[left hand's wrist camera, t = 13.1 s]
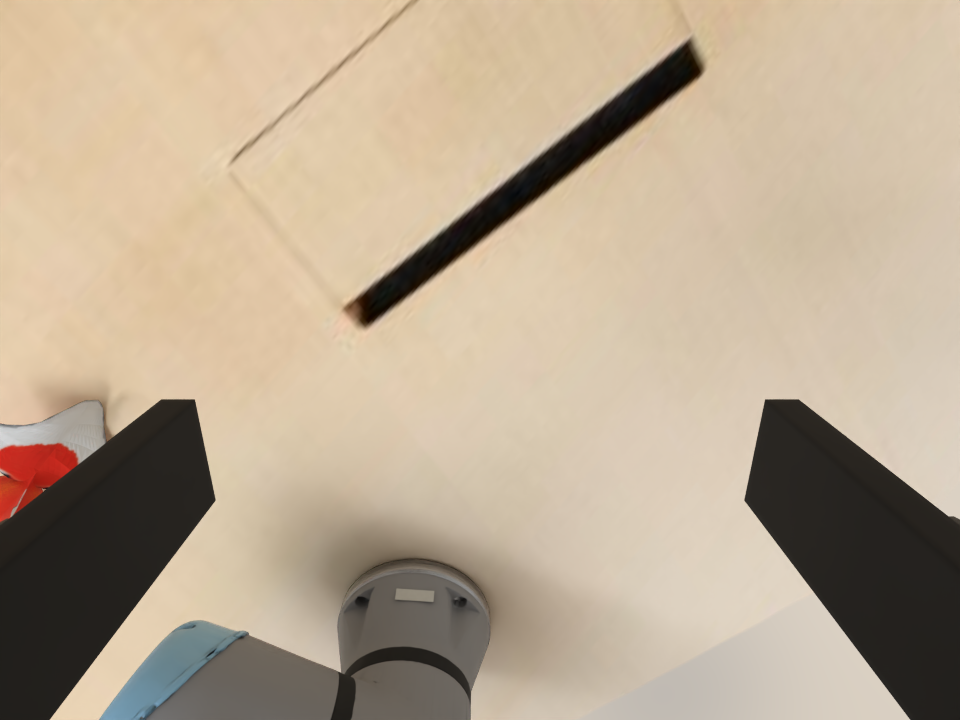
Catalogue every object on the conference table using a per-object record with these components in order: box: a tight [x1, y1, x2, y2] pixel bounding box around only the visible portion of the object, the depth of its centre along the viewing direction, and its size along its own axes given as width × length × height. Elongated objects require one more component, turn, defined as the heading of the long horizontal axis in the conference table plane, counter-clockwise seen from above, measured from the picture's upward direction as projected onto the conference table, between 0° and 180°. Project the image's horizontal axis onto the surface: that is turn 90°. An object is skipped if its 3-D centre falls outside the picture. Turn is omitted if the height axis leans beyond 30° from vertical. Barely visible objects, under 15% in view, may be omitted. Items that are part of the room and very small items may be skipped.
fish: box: [0, 400, 107, 522], centre depth 45 cm, size 11×16×10 cm
